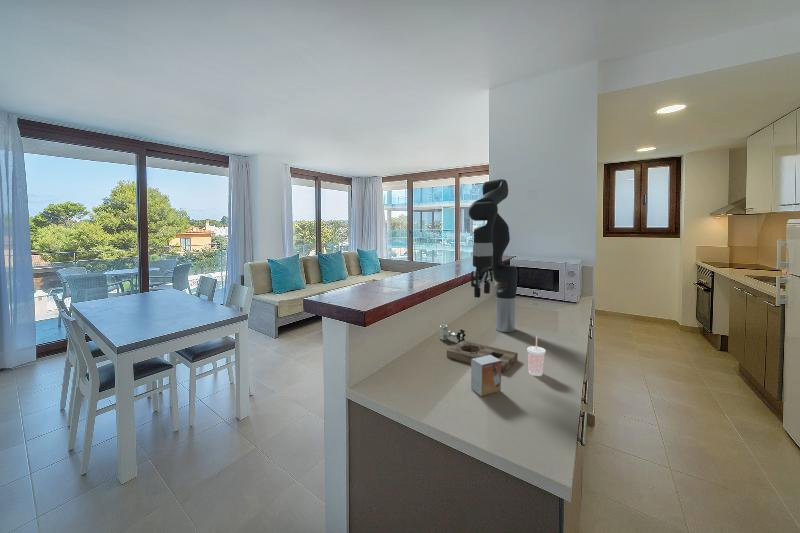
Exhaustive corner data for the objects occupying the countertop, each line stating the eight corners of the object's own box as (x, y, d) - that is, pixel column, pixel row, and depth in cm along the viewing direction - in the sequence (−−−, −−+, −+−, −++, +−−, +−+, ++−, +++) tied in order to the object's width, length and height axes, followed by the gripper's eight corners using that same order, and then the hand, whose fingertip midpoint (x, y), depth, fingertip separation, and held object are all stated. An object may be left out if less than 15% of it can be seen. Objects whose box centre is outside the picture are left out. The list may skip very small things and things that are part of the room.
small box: (481, 397, 100) (481, 365, 99) (470, 388, 105) (470, 358, 104) (501, 391, 103) (501, 360, 102) (489, 383, 108) (490, 354, 107)
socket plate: (463, 346, 142) (463, 340, 141) (517, 360, 126) (517, 353, 126) (446, 356, 131) (446, 349, 130) (503, 373, 116) (503, 365, 115)
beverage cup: (527, 368, 119) (528, 332, 118) (545, 371, 116) (546, 334, 115) (525, 374, 114) (526, 337, 112) (544, 378, 111) (545, 339, 109)
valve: (436, 340, 150) (458, 345, 143) (436, 326, 150) (458, 331, 142) (443, 336, 156) (465, 341, 148) (443, 323, 155) (465, 327, 147)
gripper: (481, 252, 131) (481, 291, 133) (465, 255, 120) (464, 297, 122) (499, 253, 126) (498, 293, 128) (483, 256, 115) (483, 300, 117)
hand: (482, 295), depth 125 cm, fingers open, 8 cm apart
